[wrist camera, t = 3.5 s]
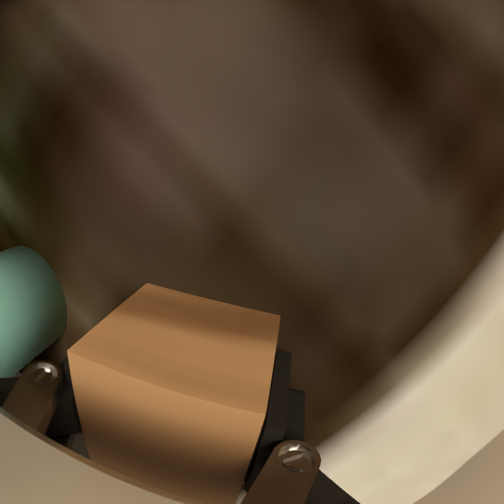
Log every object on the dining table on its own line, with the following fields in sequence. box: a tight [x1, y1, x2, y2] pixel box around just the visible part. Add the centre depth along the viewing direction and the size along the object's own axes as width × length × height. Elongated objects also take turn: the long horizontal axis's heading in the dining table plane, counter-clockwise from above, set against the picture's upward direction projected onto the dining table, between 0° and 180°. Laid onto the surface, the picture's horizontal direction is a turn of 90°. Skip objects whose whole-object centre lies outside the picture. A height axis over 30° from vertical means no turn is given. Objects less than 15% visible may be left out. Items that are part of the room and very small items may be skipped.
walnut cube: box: [67, 283, 280, 504], centre depth 10 cm, size 5×5×5 cm
